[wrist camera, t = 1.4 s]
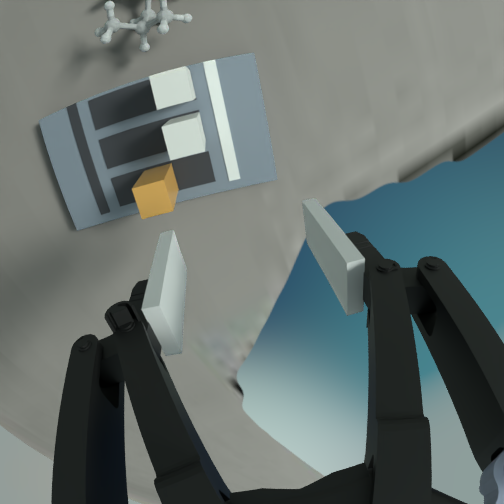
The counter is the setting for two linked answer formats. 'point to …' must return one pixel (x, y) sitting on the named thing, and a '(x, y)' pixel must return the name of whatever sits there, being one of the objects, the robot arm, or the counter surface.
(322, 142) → the counter surface
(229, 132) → the breaker panel
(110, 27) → the molecular model
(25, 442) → the counter surface
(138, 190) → the toggle
